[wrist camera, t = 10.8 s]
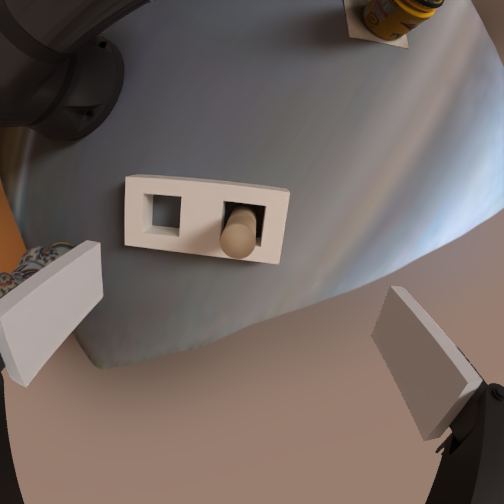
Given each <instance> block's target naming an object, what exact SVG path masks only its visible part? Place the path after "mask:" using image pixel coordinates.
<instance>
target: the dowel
mask: <svg viewBox="0 0 504 504" xmlns="http://www.w3.org/2000/svg"><path fill="white" fill-rule="evenodd" d="M255 242H256V213H255V211H254V209H253V208H252V207H250V206H248V205H239V206H237V207H235V208H234V210H233V211H232V213H231V215H230V217H229V220H228V222H227V224H226V226H225V228H224V231H223V233H222V235H221V238H220V246H221V249H222V250H223V252H224V253H225V254H226V255H227V256H229V257H231V258H234V259H243V258H245V257H247V256H249V255H250V254H251V253H252V252H253V250H254V248H255Z"/></svg>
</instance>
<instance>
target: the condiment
mask: <svg viewBox="0 0 504 504" xmlns="http://www.w3.org/2000/svg"><path fill="white" fill-rule="evenodd" d="M443 2H444V0H344V4H345V11H346V18H347V23H348V30H349V37H352V38H359V39H366V40H371V41H376V42H380V43H385V44H390V45H394V46H399V47H403V48H407V49H409V47H408V41H407V37H406V33H408V32H409V31H411V30H412V29H413V28H415V27H417V26H418V25H419V24H421V23H422V22H424V21H425V20H427V19H429V18H430V17H431V16H432V15H433V14H434V12H435V10H436V9H437V8H438V7H440V6H442V4H443ZM365 5H366V6H365ZM361 25H362V26H363V27H362V26H361ZM364 27H365V28H366V29H365V28H364Z"/></svg>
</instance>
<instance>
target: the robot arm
mask: <svg viewBox="0 0 504 504" xmlns="http://www.w3.org/2000/svg"><path fill="white" fill-rule="evenodd" d="M153 1H155V0H0V127H17V126H28V127H29V128H31V129H33V130H35V131H36V132H38V133H40V134H42V135H43V136H45V137H47V138H49V139H53V140H75V139H78V138H81V137H84V136H86V135H87V134H89V133H91V132H92V131H93V130H95V129H96V128H97V127H98V126H99V125H100V124H101V123H102V122H103V121H104V120H105V119H106V118H107V116H108V115H109V114H110V112H111V111H112V109H113V107H114V106H115V104H116V102H117V99H118V97H119V95H120V92H121V89H122V85H123V79H124V63H123V58H122V55H121V53H120V51H119V50H118V48H117V47H116V46H115V45H114V44H113V43H112V42H110V41H109V40H107V39H106V38H104V37H102V36H100V35H98V34H100V33H101V32H102V31H104V30H105V29H107V28H108V27H109V26H111V25H112V24H114V23H115V22H117V21H118V20H120V19H121V18H123V17H124V16H126V15H127V14H129V13H131V12H132V11H134V10H136V9H137V8H139V7H141V6H143V5H144V4H146V3H148V2H149V3H151V2H153ZM102 298H103V286H102V272H101V250H100V243H99V242H94V241H88V240H86V241H85V242H83V243H82V244H80V245H78V246H77V247H75V248H73V249H72V250H70V251H69V252H67V253H66V254H64V255H62V256H61V257H59V258H58V259H56V260H55V261H53V262H52V263H50V264H49V265H47V266H46V267H44V268H43V269H41V270H40V271H38V272H37V273H35V274H34V275H32V276H31V277H30V278H28V279H27V280H25V281H24V282H22V283H21V284H18V285H16V286H15V287H13V288H12V289H11V290H9V291H8V293H5V294H4V295H3V296H2V297H1V298H0V504H24V502H23V498H22V495H21V492H20V488H19V484H18V480H17V477H16V472H15V468H14V464H13V459H12V454H11V448H10V443H9V437H8V429H7V420H6V411H5V400H4V399H5V398H4V380H3V376H2V374H1V371H2V370H3V368H4V367H6V369H7V371H8V373H9V376H10V378H11V379H12V380H13V381H15V382H17V383H19V384H20V385H22V386H24V387H27V386H28V384H29V383H30V382H31V380H32V379H33V378H34V377H35V375H36V374H37V373H38V372H39V370H40V369H41V368H42V367H43V365H44V364H45V363H46V362H47V360H48V359H49V358H50V357H51V356H52V354H53V353H54V352H55V351H56V349H57V348H58V347H59V346H60V345H61V343H63V341H64V340H65V339H66V338H67V337H68V336H69V334H70V333H71V332H72V331H73V330H74V329H75V328H76V326H77V325H78V324H79V323H80V322H81V321H82V320H83V319H84V317H85V316H86V315H87V314H88V313H89V312H90V311H91V310H92V309H93V308H94V306H95V305H96V304H97V303H98V302H99V301H100V300H101V299H102ZM371 336H372V338H373V340H374V342H375V344H376V345H377V347H378V349H379V351H380V353H381V354H382V357H383V359H384V360H385V362H386V364H387V366H388V368H389V370H390V372H391V374H392V376H393V378H394V380H395V381H396V384H397V386H398V388H399V390H400V391H401V394H402V396H403V398H404V400H405V402H406V404H407V406H408V408H409V410H410V412H411V414H412V416H413V418H414V421H415V423H416V425H417V427H418V429H419V431H420V433H421V436H422V438H423V440H424V441H426V440H431V439H435V438H439V437H440V436H441V435H442V434H443V433H444V432H445V430H446V429H447V428H448V427H450V428H451V430H452V433H451V434H450V435H449V436H448V437H447V439H446V440H445V441H444V442H443V443H442V444H441V445H440V446H439V447H438V448H437V450H436V453H438V452H439V451H440V450H441V449H442V448H444V451H443V452H442V454H441V455H442V458H441V462H440V465H439V468H438V471H437V474H436V477H435V480H434V482H433V485H432V488H431V491H430V493H429V496H428V498H427V501H426V503H425V504H504V387H503V386H501V385H499V384H496V383H491V384H489V385H487V384H486V382H485V381H484V379H483V378H482V377H481V376H480V375H479V373H478V372H477V370H476V369H475V368H474V367H473V365H472V364H470V362H469V360H468V359H467V358H466V357H465V355H464V354H463V353H462V352H461V350H460V349H459V348H458V347H457V346H455V345H454V344H453V342H451V340H450V339H449V338H448V337H447V335H446V334H445V333H444V332H443V331H442V330H441V328H440V327H439V326H438V325H437V324H436V323H435V322H434V320H433V319H432V318H431V317H430V316H429V315H428V314H427V313H426V312H425V310H424V309H423V308H422V307H421V306H420V305H419V304H418V303H417V302H416V301H415V299H414V298H413V297H412V296H411V295H410V294H409V293H408V292H407V291H406V290H405V289H404V288H403V287H396V286H390V287H389V290H388V293H387V296H386V298H385V301H384V304H383V307H382V310H381V312H380V315H379V317H378V320H377V322H376V325H375V328H374V330H373V332H372V335H371Z"/></svg>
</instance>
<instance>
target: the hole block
mask: <svg viewBox="0 0 504 504" xmlns="http://www.w3.org/2000/svg"><path fill="white" fill-rule="evenodd" d="M153 194H157V195H169V196H180V197H182V199H181V214H180V228H173V227H164V226H155V225H152V215H153ZM289 196H290V192H289V191H288V189H286V188H279V187H272V186H264V185H256V184H248V183H239V182H230V181H220V180H210V179H199V178H188V177H175V176H160V175H144V174H136V175H132V176H127V177H126V184H125V245H128V246H136V247H143V248H151V249H159V250H167V251H175V252H182V253H190V254H198V255H207V256H215V257H223V258H231V257H229V256H227V255H226V254H225V253H224V252H223V250H222V249H221V246H220V238H221V235H222V233H223V229H224V219H225V209H226V201H229V202H238V203H246V204H255V205H263V206H265V208H264V215H263V223H262V230H261V238H258V237H256V242H255V248H254V250H253V252H252V253H251V254H250V255H249V256H247V257H245V258H243V259H239V260H247V261H256V262H264V263H272V264H279V261H280V254H281V248H282V242H283V236H284V229H285V223H286V216H287V210H288V203H289ZM231 259H234V258H231Z"/></svg>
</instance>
